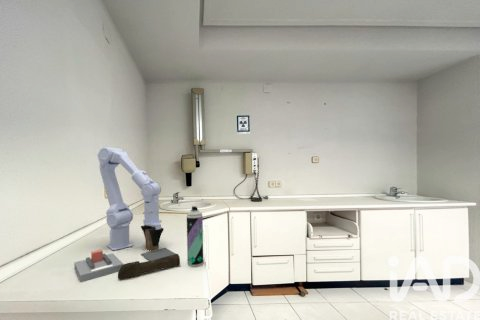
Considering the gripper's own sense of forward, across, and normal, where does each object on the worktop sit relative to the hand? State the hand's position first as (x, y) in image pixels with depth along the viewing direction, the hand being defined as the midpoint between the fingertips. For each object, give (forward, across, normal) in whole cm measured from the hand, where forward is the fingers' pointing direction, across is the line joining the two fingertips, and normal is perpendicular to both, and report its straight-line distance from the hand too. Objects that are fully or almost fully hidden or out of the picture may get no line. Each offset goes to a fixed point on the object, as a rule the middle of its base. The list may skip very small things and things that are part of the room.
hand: (152, 243), depth 99 cm
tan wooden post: (+2, 0, 0) cm, 2 cm away
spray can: (+2, -27, -5) cm, 28 cm away
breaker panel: (+2, -7, +21) cm, 22 cm away
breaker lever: (0, -5, +21) cm, 21 cm away
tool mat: (+2, -9, +1) cm, 9 cm away
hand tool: (+2, -23, +9) cm, 25 cm away
